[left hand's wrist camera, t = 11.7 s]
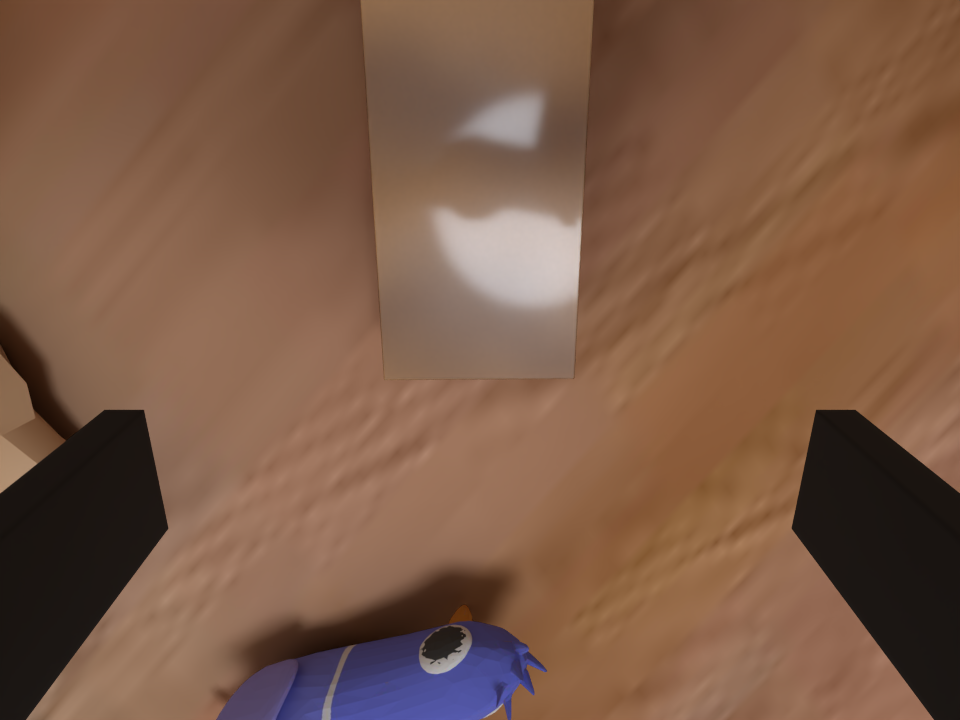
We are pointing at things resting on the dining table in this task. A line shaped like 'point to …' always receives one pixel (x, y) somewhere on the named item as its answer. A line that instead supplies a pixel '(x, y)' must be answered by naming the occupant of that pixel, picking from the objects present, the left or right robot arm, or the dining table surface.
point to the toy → (394, 678)
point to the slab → (478, 183)
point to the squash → (20, 428)
